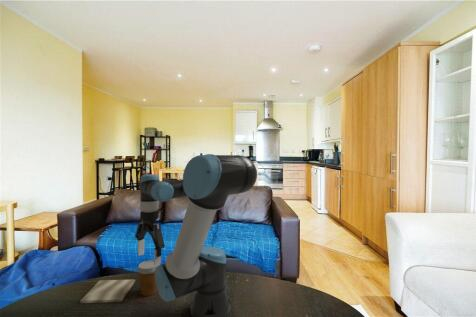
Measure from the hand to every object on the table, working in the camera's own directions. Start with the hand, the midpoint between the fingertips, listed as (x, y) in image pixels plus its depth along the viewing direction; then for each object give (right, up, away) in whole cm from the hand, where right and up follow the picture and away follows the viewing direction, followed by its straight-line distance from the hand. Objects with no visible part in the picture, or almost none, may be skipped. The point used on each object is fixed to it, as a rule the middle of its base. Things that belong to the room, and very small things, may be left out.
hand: (149, 259), depth 105 cm
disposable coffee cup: (0, -14, 0) cm, 14 cm away
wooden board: (-17, -14, 0) cm, 22 cm away
